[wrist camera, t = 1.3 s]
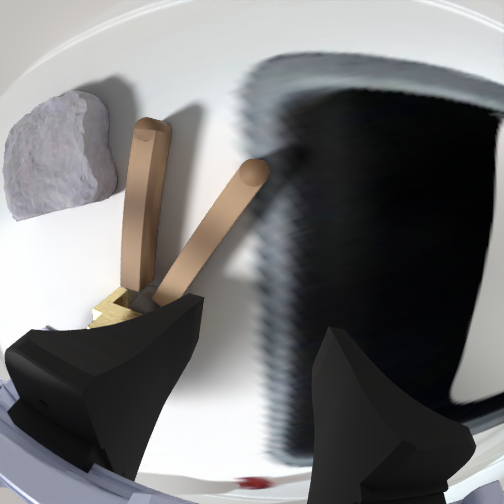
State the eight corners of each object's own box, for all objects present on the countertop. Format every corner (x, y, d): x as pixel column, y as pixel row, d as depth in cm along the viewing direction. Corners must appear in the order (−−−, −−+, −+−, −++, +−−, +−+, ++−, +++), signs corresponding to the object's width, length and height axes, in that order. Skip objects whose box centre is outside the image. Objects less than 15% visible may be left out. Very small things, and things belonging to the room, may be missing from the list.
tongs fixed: (171, 350, 24) (161, 367, 21) (136, 337, 24) (123, 353, 21) (200, 125, 18) (188, 120, 15) (153, 120, 18) (136, 116, 16)
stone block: (35, 130, 21) (33, 224, 22) (3, 120, 16) (-2, 226, 17) (125, 90, 20) (126, 203, 20) (95, 67, 15) (88, 200, 16)
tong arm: (180, 298, 22) (169, 312, 19) (164, 285, 21) (151, 298, 19) (275, 169, 18) (273, 169, 16) (255, 154, 18) (250, 153, 15)
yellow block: (192, 340, 22) (165, 389, 17) (120, 316, 23) (82, 355, 17) (195, 310, 22) (166, 357, 16) (120, 287, 22) (76, 322, 16)
